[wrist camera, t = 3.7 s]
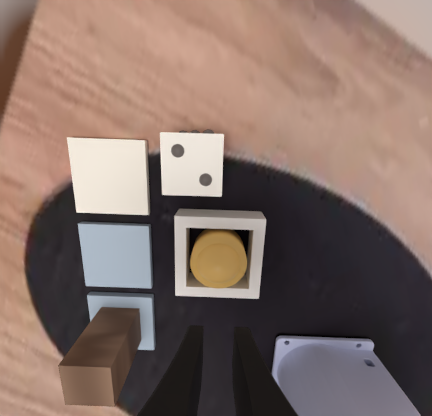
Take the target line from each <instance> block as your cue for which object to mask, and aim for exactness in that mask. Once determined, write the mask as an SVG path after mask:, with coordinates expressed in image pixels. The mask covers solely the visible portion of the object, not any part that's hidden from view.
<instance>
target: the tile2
mask: <svg viewBox="0 0 432 416" xmlns="http://www.w3.org/2000/svg"><path fill="white" fill-rule="evenodd" d="M67 141H68V149H69V157H70V165H71V173H72V181H73V189H74V196H75V204H76V212H78V213H105V214H132V215H149V214H150V194H149V170H148V146H147V140H124V139H95V138H67Z"/></svg>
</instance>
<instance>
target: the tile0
mask: <svg viewBox="0 0 432 416" xmlns="http://www.w3.org/2000/svg"><path fill="white" fill-rule="evenodd" d="M87 298H88V306H89V314H90V322H91V320H92V319H93V318H94V316H95V315H96V314H97V312H98V311H99V309H100V308H101V307H115V308H140V324H141V342H140V345H139V347H138V350H154V349H155V346H156V339H155V315H154V294H144V293H118V292H90V293H89V294H88V295H87Z"/></svg>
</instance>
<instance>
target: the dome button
mask: <svg viewBox="0 0 432 416" xmlns="http://www.w3.org/2000/svg"><path fill="white" fill-rule="evenodd" d="M190 266H191V270H192V273H193V275H194V276H195V278H196V279H197V280H198V281H199V282H200V283H202V284H204V285H205V286H208V287H211V288H217V289H218V288H227V287H230V286H232V285H234V284H236V283H237V282H238V281H239V280H240V279H241V278H242V277H243V275H244V274H245V271H246V268H247V257H246V253H245V249H244V245H243V242H242V239H241V238H240V236H239V235H238V234H237V233H236V232H235V231H234V230H232V229H210V228H207V229H205V230H204V231H202V232H201V233H200V234H199V235H198V237H197V238H196V240H195V243H194V247H193V251H192V255H191V259H190Z"/></svg>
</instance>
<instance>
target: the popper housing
mask: <svg viewBox="0 0 432 416" xmlns="http://www.w3.org/2000/svg"><path fill="white" fill-rule="evenodd" d="M174 221H175V296H197V297H224V298H250V299H259V291H260V281H261V270H262V260H263V249H264V239H265V228H266V218H265V217H264V215H263V213H262V212H261V211H234V210H206V209H179V210H178V211H177V213H176V214H175V216H174ZM190 228H210V229H237V230H249V240H248V253H247V268H246V275H243V277H242V278H241V279H240V280H239V281H238V282H237V283H236V284H234V285H232V286H230V287H227V288H218V289H217V288H211V287H208V286H205V285H204V284H202V283H200V282H199V281H198V280H197V279H196V278H195V276H194V275H193V273H189V267H190Z"/></svg>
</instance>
